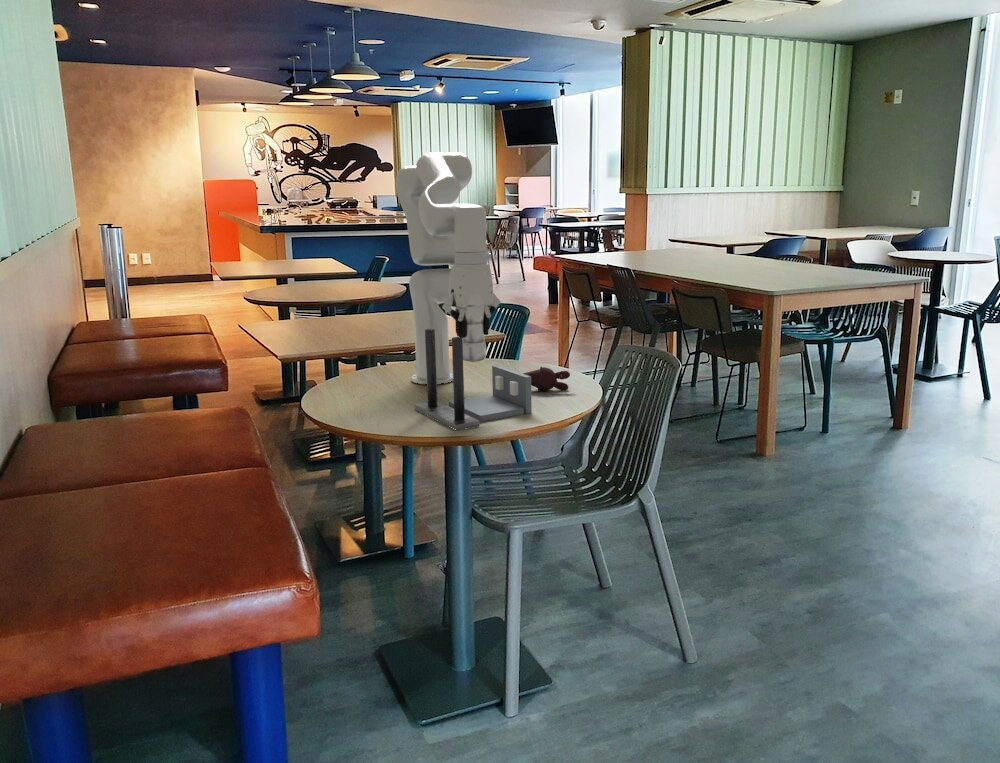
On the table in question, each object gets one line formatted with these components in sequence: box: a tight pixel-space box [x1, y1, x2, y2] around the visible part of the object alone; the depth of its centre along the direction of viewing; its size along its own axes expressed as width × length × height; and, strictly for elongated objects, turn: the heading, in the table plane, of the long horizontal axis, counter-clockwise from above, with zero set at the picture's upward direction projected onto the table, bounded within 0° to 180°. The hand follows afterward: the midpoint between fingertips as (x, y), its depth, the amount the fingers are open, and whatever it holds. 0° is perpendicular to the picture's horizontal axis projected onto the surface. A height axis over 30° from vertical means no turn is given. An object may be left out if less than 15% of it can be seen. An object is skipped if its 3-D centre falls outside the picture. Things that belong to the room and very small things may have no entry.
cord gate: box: [414, 329, 480, 431], centre depth 189 cm, size 22×6×20 cm, turn 31°
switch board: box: [448, 364, 533, 423], centre depth 196 cm, size 16×14×9 cm
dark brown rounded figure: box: [522, 366, 571, 392], centre depth 215 cm, size 7×7×15 cm
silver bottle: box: [462, 294, 488, 363], centre depth 190 cm, size 6×7×20 cm
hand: (472, 334), depth 191 cm, fingers closed on silver bottle, 5 cm apart
